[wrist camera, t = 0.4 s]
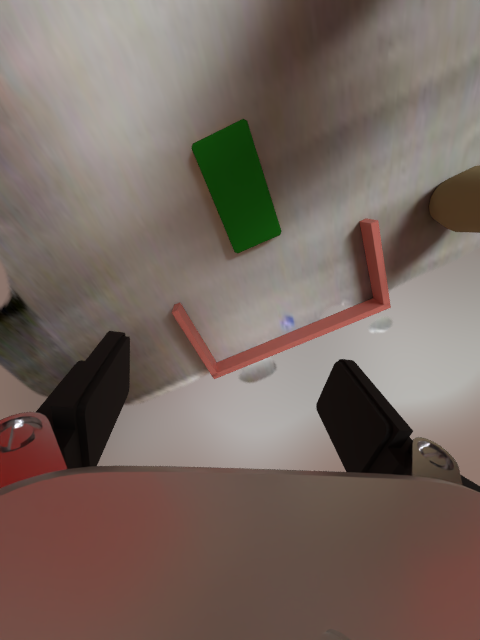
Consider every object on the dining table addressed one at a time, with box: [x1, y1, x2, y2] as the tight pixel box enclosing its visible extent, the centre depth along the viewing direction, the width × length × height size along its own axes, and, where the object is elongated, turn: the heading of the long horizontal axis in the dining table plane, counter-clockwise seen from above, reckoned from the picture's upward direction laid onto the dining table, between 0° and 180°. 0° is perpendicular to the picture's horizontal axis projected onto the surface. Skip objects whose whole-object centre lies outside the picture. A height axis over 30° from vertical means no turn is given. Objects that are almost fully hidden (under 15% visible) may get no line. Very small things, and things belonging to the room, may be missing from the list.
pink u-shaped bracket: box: [172, 219, 391, 379], centre depth 40 cm, size 32×14×3 cm, turn 113°
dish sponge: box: [192, 119, 281, 253], centre depth 33 cm, size 7×14×2 cm, turn 22°
